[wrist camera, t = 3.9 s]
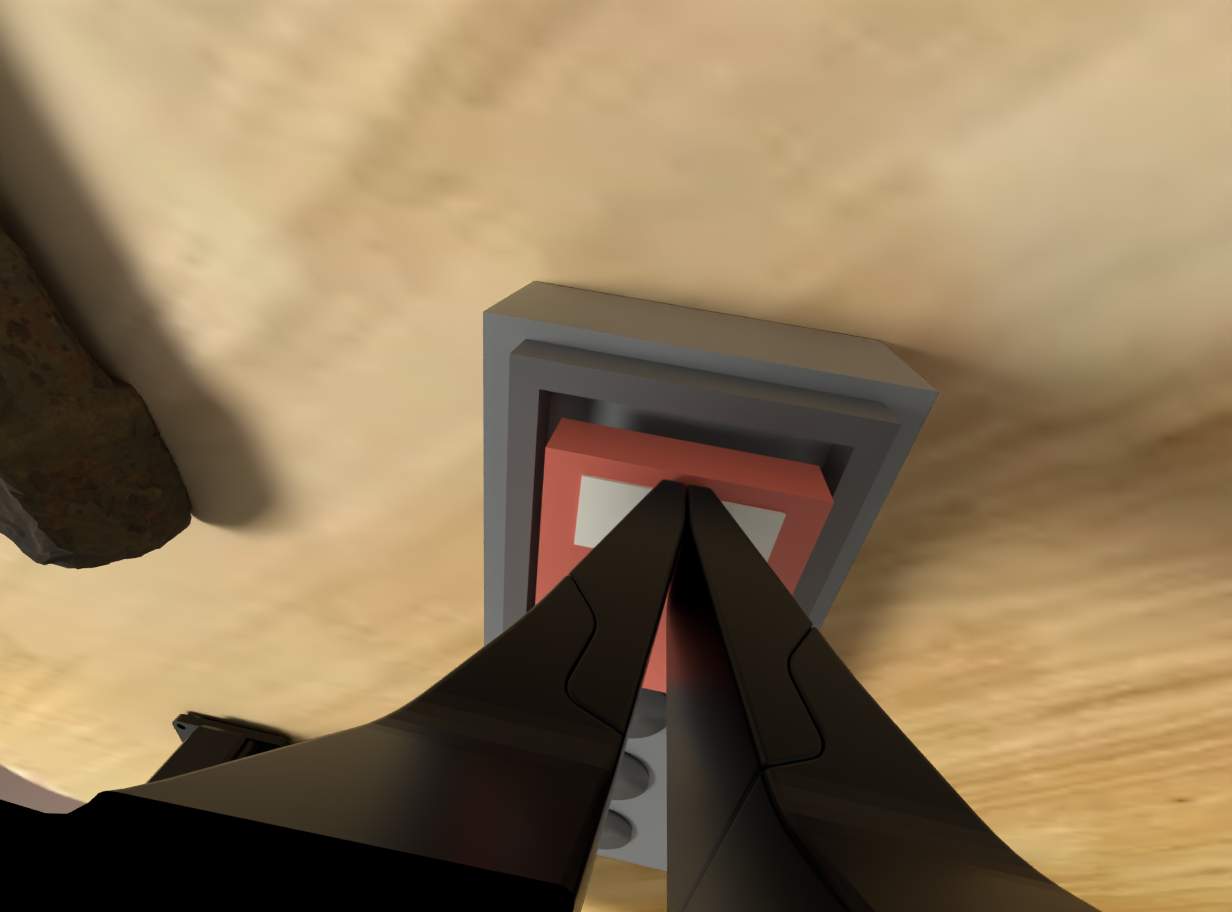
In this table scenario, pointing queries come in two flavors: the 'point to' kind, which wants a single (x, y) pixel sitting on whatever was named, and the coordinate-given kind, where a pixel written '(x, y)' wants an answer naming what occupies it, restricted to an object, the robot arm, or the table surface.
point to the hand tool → (74, 441)
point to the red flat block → (636, 462)
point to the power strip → (691, 411)
